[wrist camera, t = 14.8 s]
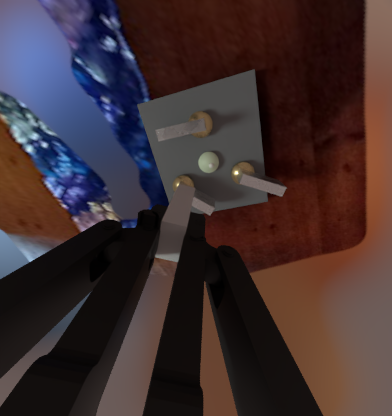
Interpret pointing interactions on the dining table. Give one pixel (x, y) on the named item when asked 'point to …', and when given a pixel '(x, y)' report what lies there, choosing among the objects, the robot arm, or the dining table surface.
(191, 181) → the knob
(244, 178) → the knob
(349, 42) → the dining table surface
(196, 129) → the knob
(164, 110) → the base plate
